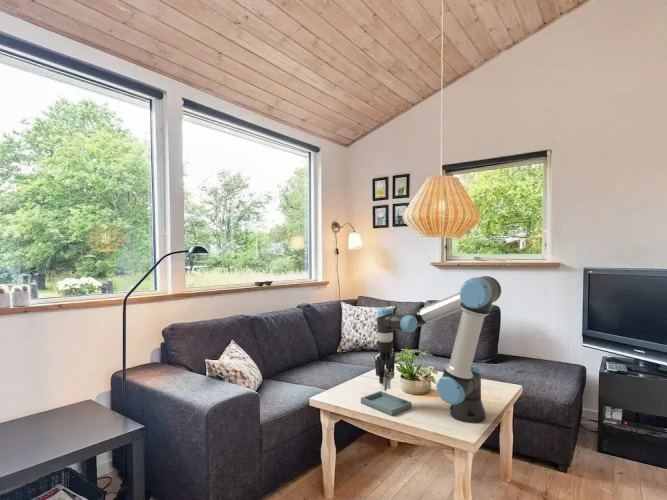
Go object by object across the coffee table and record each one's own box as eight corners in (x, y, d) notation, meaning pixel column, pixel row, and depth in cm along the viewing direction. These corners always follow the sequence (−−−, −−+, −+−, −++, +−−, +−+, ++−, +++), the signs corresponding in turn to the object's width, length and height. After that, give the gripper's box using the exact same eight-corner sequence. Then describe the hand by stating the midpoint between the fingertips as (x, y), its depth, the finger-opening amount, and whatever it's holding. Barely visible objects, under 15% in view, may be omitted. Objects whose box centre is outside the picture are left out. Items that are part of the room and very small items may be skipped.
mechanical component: (391, 394, 180) (391, 372, 180) (375, 388, 188) (375, 367, 188) (395, 392, 182) (395, 371, 182) (379, 386, 190) (379, 366, 190)
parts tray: (411, 407, 182) (411, 402, 182) (391, 416, 173) (391, 410, 173) (380, 395, 197) (380, 390, 197) (360, 403, 188) (360, 397, 188)
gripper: (390, 336, 193) (390, 383, 193) (367, 341, 183) (367, 390, 183) (401, 339, 187) (402, 387, 187) (379, 344, 177) (379, 395, 177)
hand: (385, 389), depth 185 cm, fingers closed on mechanical component, 3 cm apart
